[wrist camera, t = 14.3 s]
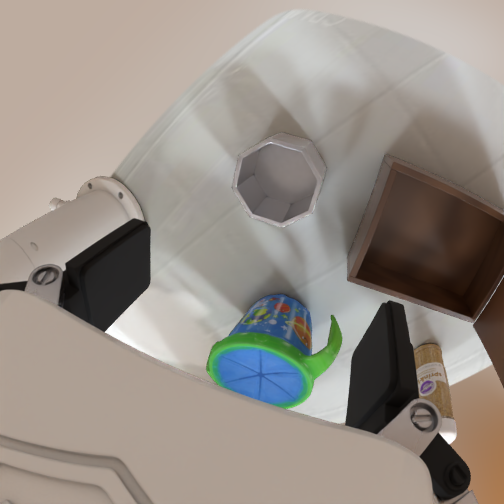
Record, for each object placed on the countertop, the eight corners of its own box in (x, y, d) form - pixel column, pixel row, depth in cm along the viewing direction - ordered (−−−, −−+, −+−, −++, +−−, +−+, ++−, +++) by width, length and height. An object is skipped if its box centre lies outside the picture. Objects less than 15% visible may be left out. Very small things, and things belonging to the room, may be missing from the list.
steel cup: (246, 192, 29) (226, 210, 25) (261, 126, 26) (243, 130, 21) (312, 213, 28) (305, 235, 24) (332, 147, 25) (330, 155, 20)
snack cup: (242, 353, 40) (216, 409, 32) (209, 293, 37) (170, 347, 28) (353, 339, 34) (348, 406, 25) (332, 266, 30) (323, 331, 22)
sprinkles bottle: (428, 336, 31) (444, 428, 19) (447, 352, 31) (464, 438, 19) (402, 357, 33) (408, 446, 22) (421, 370, 33) (429, 455, 22)
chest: (347, 257, 29) (346, 280, 25) (385, 153, 24) (393, 161, 20) (462, 298, 27) (473, 323, 23) (506, 212, 21) (527, 229, 18)
